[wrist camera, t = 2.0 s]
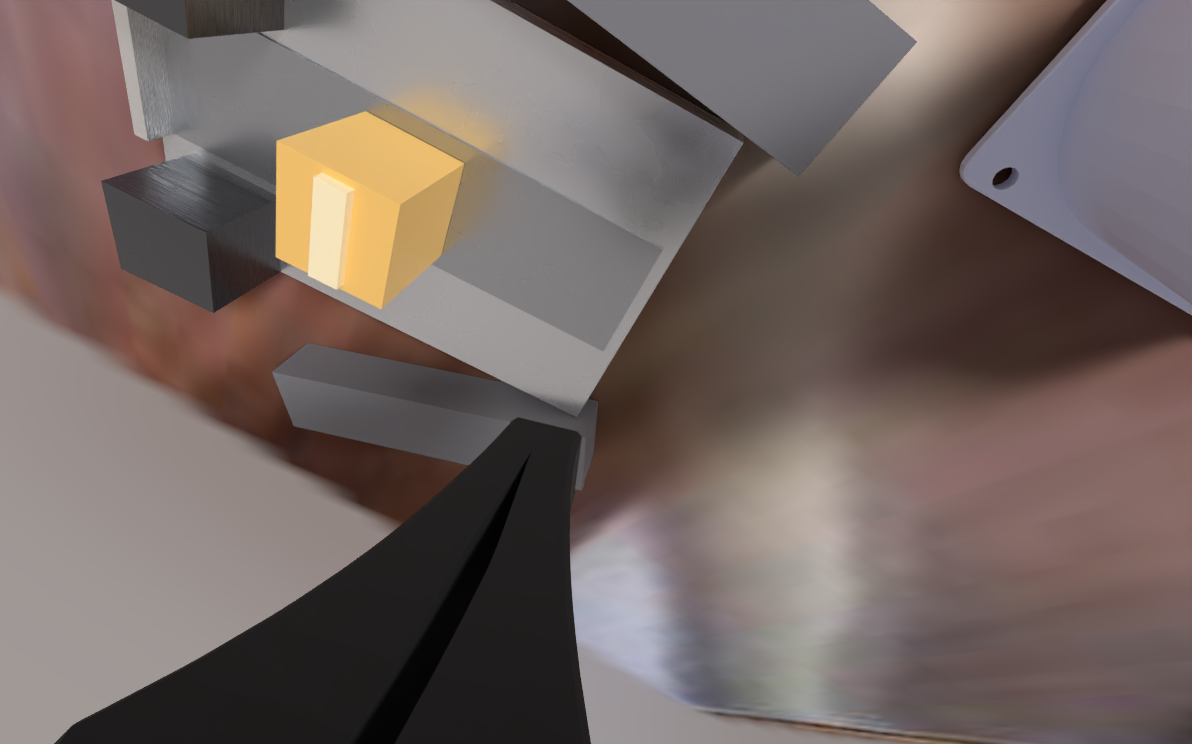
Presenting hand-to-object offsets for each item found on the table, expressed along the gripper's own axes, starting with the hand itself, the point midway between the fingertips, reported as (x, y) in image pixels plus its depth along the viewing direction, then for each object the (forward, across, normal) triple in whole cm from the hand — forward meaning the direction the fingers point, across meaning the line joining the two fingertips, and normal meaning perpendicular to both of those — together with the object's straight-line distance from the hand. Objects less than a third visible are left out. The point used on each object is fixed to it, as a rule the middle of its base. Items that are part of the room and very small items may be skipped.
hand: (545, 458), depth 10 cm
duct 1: (+9, +6, +7) cm, 13 cm away
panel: (+8, +7, -2) cm, 11 cm away
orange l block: (+7, +7, -2) cm, 10 cm away
